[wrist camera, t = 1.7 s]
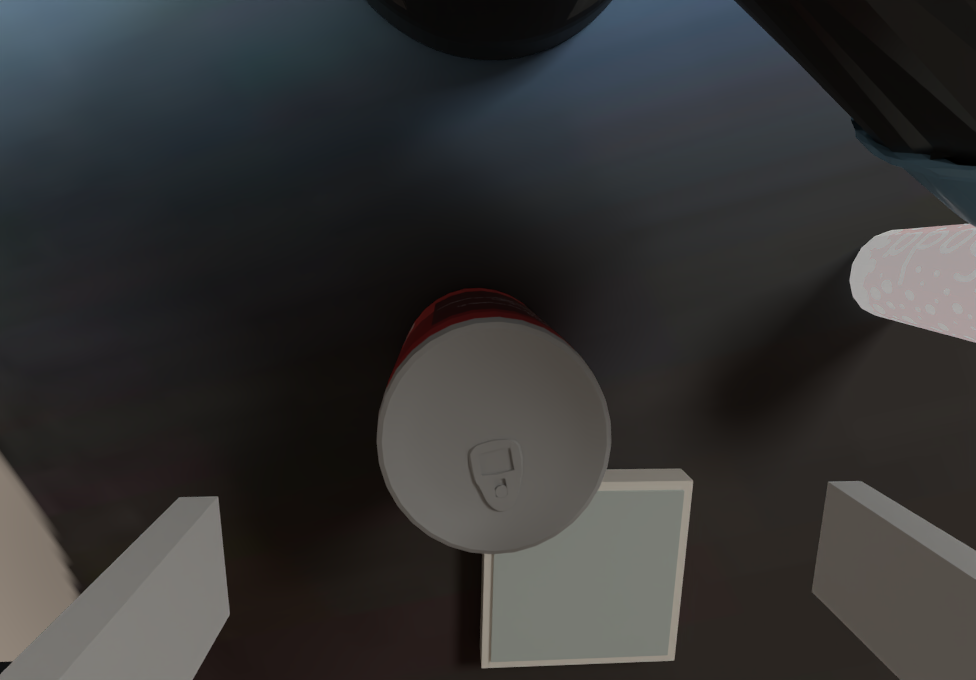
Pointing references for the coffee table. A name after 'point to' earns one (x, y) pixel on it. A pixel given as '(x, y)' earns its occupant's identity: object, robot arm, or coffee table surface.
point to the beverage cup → (920, 278)
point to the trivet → (594, 580)
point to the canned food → (491, 426)
